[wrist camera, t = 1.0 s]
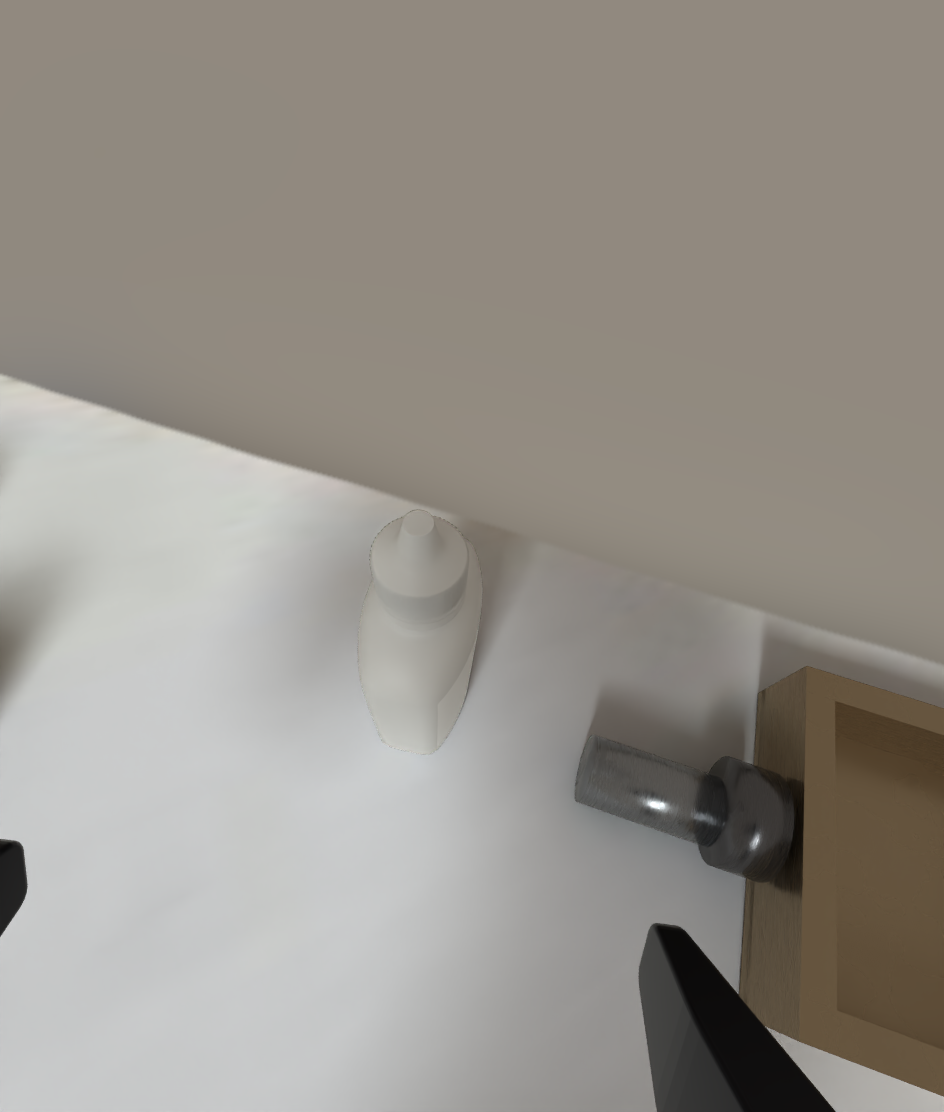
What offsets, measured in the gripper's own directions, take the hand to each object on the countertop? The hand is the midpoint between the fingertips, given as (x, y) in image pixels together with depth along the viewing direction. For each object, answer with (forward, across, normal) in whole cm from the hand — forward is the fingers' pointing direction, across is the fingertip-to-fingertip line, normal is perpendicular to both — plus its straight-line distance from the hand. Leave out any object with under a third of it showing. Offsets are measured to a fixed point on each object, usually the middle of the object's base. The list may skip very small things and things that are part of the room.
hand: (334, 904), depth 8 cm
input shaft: (+12, -9, +6) cm, 16 cm away
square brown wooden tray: (+11, -18, +8) cm, 22 cm away
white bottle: (+14, 0, +4) cm, 15 cm away
